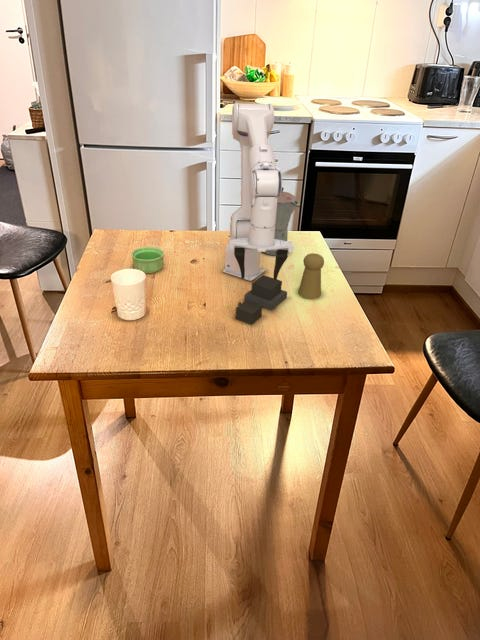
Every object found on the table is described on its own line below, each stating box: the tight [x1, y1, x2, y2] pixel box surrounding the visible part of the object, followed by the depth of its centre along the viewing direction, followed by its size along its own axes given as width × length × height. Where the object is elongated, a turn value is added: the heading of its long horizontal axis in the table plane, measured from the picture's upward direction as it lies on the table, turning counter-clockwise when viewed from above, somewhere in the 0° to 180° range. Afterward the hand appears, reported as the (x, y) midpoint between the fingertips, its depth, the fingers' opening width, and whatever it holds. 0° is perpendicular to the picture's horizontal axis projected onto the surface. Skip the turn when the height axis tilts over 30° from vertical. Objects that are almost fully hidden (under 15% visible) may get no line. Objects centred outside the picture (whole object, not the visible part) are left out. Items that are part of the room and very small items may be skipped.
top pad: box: [235, 299, 263, 326], centre depth 120 cm, size 5×5×3 cm
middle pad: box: [251, 274, 283, 301], centre depth 126 cm, size 6×6×3 cm
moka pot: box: [262, 186, 300, 256], centre depth 149 cm, size 10×15×20 cm, turn 58°
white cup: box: [110, 268, 147, 321], centre depth 117 cm, size 8×8×10 cm
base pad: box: [243, 289, 288, 312], centre depth 128 cm, size 8×8×2 cm
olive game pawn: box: [298, 252, 325, 300], centre depth 129 cm, size 6×6×11 cm
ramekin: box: [131, 246, 165, 274], centre depth 140 cm, size 9×9×4 cm
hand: (259, 277), depth 119 cm, fingers open, 7 cm apart
